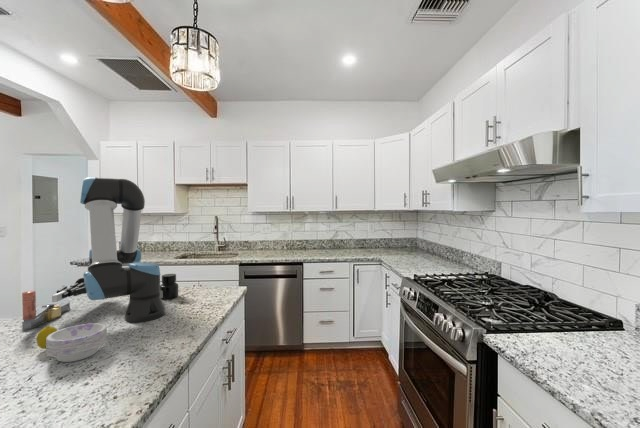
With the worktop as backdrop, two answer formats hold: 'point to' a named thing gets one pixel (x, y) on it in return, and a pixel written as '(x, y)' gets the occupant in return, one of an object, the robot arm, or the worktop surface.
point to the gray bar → (47, 316)
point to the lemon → (44, 336)
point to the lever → (32, 307)
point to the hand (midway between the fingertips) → (54, 298)
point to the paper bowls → (76, 341)
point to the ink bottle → (168, 287)
